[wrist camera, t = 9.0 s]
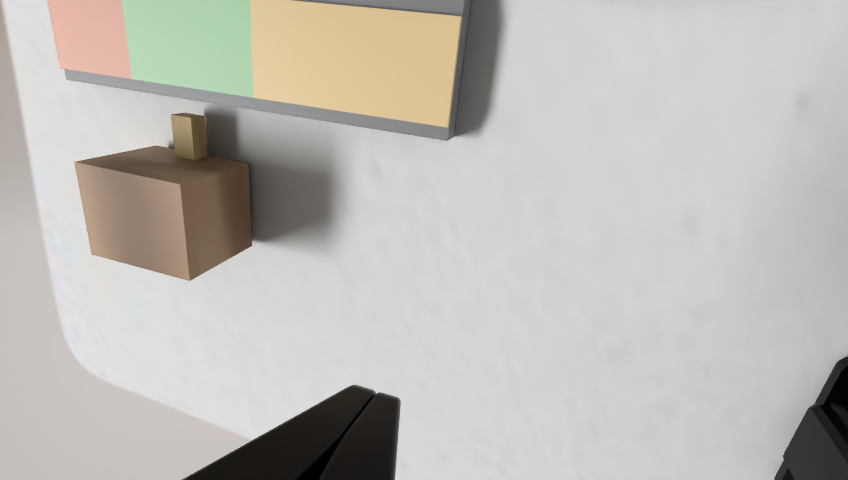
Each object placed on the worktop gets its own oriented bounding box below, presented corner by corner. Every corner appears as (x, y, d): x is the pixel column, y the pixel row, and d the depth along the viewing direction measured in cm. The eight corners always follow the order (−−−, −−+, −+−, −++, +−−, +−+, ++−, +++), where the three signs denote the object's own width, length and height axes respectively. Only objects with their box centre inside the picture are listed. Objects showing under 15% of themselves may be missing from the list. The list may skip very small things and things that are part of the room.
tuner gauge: (476, -44, 16) (369, -155, 8) (453, 136, 18) (353, 197, 10) (62, -70, 20) (-289, -159, 12) (87, 78, 22) (-193, 88, 14)
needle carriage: (246, 122, 20) (174, 135, 16) (252, 245, 22) (189, 281, 19) (151, 106, 21) (65, 114, 18) (165, 225, 23) (91, 254, 20)
